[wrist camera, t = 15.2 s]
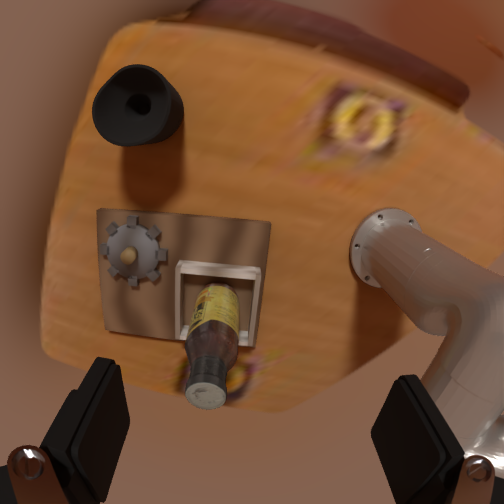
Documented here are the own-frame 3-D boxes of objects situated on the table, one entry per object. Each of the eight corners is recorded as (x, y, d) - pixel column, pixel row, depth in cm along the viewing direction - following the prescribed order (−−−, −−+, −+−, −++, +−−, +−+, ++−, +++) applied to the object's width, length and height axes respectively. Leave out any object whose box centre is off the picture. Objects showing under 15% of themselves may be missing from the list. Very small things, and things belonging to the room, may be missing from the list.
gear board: (270, 221, 45) (273, 230, 40) (254, 342, 51) (255, 359, 47) (100, 208, 43) (86, 215, 39) (108, 325, 50) (98, 340, 45)
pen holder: (187, 143, 41) (171, 142, 32) (123, 148, 41) (92, 150, 31) (187, 77, 38) (171, 59, 29) (122, 85, 38) (93, 72, 28)
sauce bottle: (200, 276, 46) (175, 362, 27) (243, 284, 46) (244, 374, 27) (194, 315, 48) (170, 409, 29) (235, 322, 48) (232, 420, 29)
